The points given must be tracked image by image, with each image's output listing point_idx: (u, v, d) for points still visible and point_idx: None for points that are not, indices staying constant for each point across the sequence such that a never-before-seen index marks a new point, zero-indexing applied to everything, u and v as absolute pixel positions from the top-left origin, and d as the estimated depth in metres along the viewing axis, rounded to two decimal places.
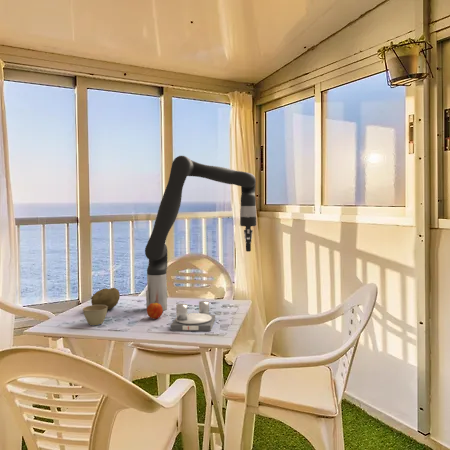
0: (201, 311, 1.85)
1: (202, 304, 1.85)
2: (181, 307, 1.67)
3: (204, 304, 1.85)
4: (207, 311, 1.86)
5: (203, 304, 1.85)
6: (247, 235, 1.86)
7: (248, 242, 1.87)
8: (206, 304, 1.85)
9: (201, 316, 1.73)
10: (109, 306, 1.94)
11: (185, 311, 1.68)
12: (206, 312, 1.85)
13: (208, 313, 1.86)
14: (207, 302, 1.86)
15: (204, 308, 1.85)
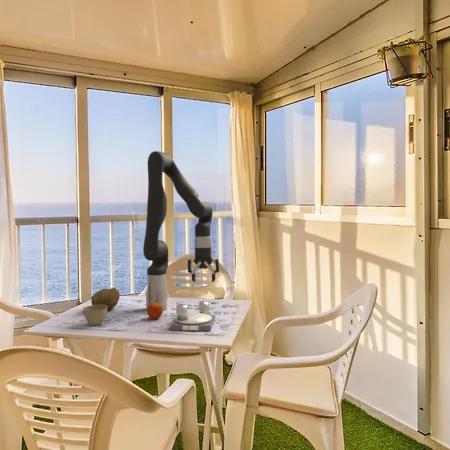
0: (201, 311, 1.85)
1: (202, 304, 1.85)
2: (181, 307, 1.67)
3: (204, 304, 1.85)
4: (207, 311, 1.86)
5: (203, 304, 1.85)
6: (218, 265, 1.85)
7: None
8: (206, 304, 1.85)
9: (201, 316, 1.73)
10: (109, 306, 1.94)
11: (185, 311, 1.68)
12: (206, 312, 1.85)
13: (208, 313, 1.86)
14: (207, 302, 1.86)
15: (204, 308, 1.85)
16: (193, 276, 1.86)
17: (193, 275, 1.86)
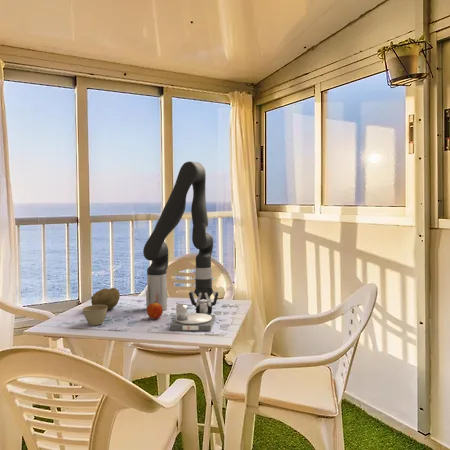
0: (201, 311, 1.85)
1: (202, 304, 1.85)
2: (181, 307, 1.67)
3: (204, 304, 1.85)
4: (207, 311, 1.86)
5: (203, 304, 1.85)
6: None
7: None
8: (206, 304, 1.85)
9: (201, 316, 1.73)
10: (109, 306, 1.94)
11: (185, 311, 1.68)
12: (206, 312, 1.85)
13: (208, 313, 1.86)
14: (207, 302, 1.86)
15: (204, 308, 1.85)
16: (197, 309, 1.86)
17: (197, 308, 1.86)
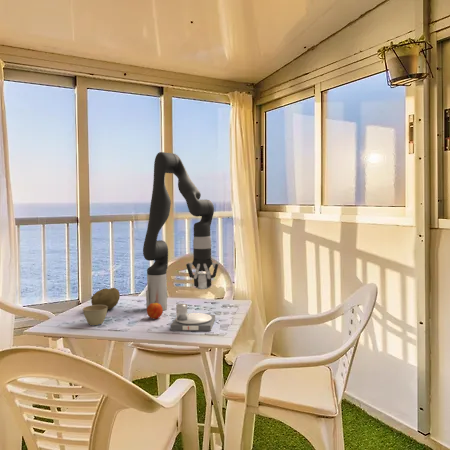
0: (200, 284, 1.71)
1: (200, 276, 1.71)
2: (181, 307, 1.67)
3: (203, 276, 1.71)
4: (206, 284, 1.72)
5: (202, 276, 1.71)
6: (216, 270, 1.72)
7: None
8: (205, 276, 1.71)
9: (201, 316, 1.73)
10: (109, 306, 1.94)
11: (185, 311, 1.68)
12: (205, 285, 1.71)
13: (207, 286, 1.72)
14: (206, 274, 1.72)
15: (202, 281, 1.71)
16: (195, 281, 1.72)
17: (195, 280, 1.72)
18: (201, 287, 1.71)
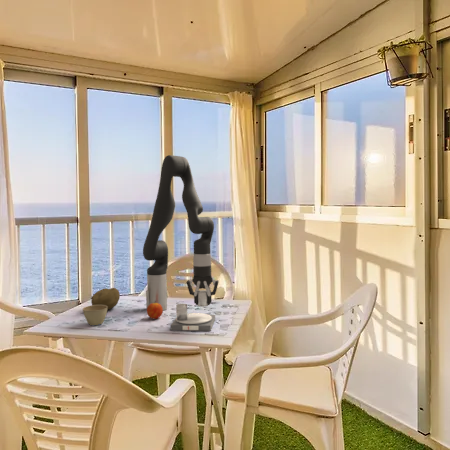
0: (200, 301, 1.71)
1: (200, 293, 1.71)
2: (181, 307, 1.67)
3: (203, 293, 1.71)
4: (206, 301, 1.72)
5: (202, 293, 1.71)
6: (216, 287, 1.72)
7: None
8: (205, 293, 1.71)
9: (201, 316, 1.73)
10: (109, 306, 1.94)
11: (185, 311, 1.68)
12: (205, 302, 1.71)
13: (207, 303, 1.72)
14: (206, 291, 1.72)
15: (202, 298, 1.71)
16: (196, 299, 1.72)
17: (196, 297, 1.72)
18: (201, 304, 1.71)
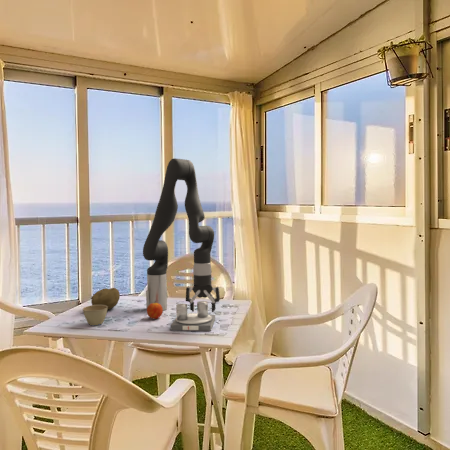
0: (199, 312, 1.72)
1: (200, 304, 1.71)
2: (181, 307, 1.67)
3: (203, 304, 1.71)
4: (206, 312, 1.72)
5: (202, 304, 1.71)
6: (219, 294, 1.72)
7: (217, 301, 1.73)
8: (205, 304, 1.72)
9: None
10: (109, 306, 1.94)
11: (185, 311, 1.68)
12: (205, 313, 1.72)
13: (207, 314, 1.73)
14: (206, 302, 1.72)
15: (202, 309, 1.71)
16: (191, 305, 1.73)
17: (191, 304, 1.73)
18: (201, 315, 1.71)
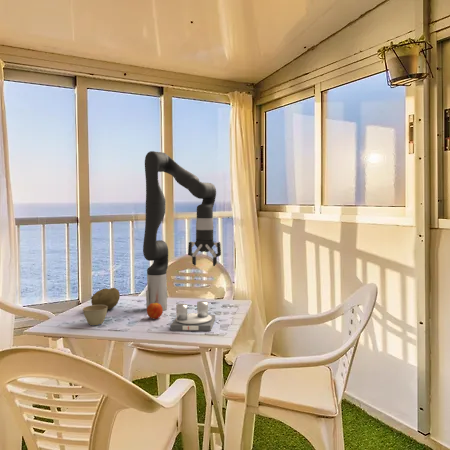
0: (199, 312, 1.72)
1: (200, 304, 1.71)
2: (181, 307, 1.67)
3: (203, 304, 1.71)
4: (206, 312, 1.72)
5: (202, 304, 1.71)
6: (220, 248, 1.78)
7: None
8: (205, 304, 1.72)
9: None
10: (109, 306, 1.94)
11: (185, 311, 1.68)
12: (205, 313, 1.72)
13: (207, 314, 1.73)
14: (206, 302, 1.72)
15: (202, 309, 1.71)
16: (194, 259, 1.79)
17: (194, 258, 1.79)
18: (201, 315, 1.71)
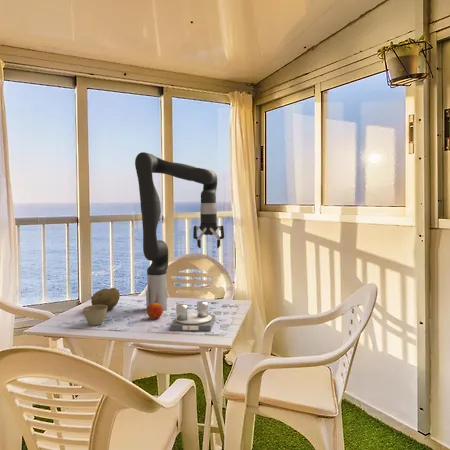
0: (199, 312, 1.72)
1: (200, 304, 1.71)
2: (181, 307, 1.67)
3: (203, 304, 1.71)
4: (206, 312, 1.72)
5: (202, 304, 1.71)
6: (223, 231, 1.89)
7: (222, 238, 1.90)
8: (205, 304, 1.72)
9: None
10: (109, 306, 1.94)
11: (185, 311, 1.68)
12: (205, 313, 1.72)
13: (207, 314, 1.73)
14: (206, 302, 1.72)
15: (202, 309, 1.71)
16: (199, 242, 1.90)
17: (199, 241, 1.90)
18: (201, 315, 1.71)
